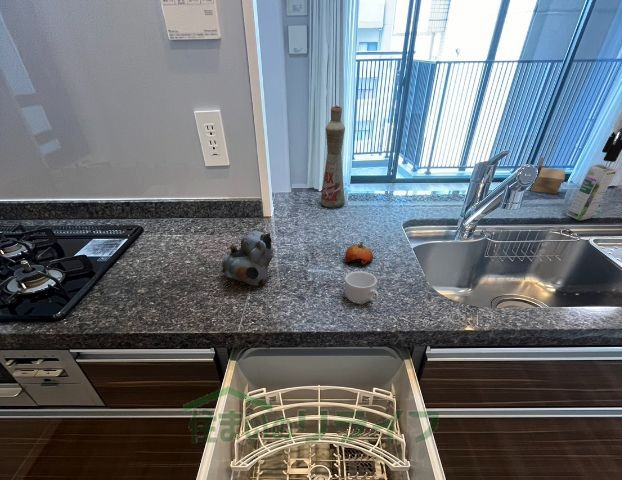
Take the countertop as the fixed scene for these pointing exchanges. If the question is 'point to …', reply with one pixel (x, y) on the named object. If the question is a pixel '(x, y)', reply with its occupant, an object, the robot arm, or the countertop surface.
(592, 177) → the syrup box
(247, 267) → the lucky cat figurine
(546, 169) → the small cardboard box
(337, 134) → the bottle
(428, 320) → the countertop surface
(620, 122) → the robot arm
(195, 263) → the countertop surface
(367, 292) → the teacup
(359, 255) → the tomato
